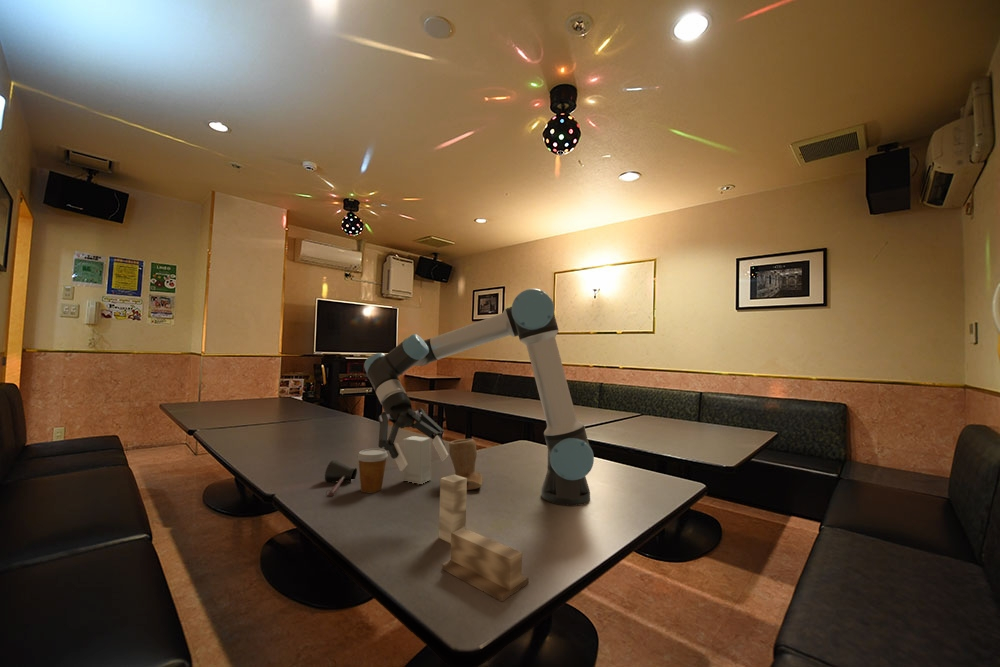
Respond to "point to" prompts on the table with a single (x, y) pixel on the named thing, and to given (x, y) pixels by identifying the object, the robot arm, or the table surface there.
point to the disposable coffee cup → (372, 469)
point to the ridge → (485, 564)
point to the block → (452, 505)
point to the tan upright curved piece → (465, 461)
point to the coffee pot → (338, 474)
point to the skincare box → (417, 459)
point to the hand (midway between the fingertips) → (425, 462)
